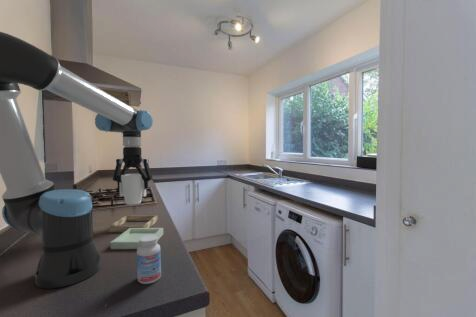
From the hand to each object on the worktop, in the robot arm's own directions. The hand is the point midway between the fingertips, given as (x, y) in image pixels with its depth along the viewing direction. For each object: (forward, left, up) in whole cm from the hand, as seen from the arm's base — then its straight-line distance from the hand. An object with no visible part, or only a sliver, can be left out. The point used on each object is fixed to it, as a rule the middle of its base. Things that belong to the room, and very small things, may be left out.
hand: (133, 196), depth 103 cm
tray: (-17, -10, -14) cm, 24 cm away
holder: (0, 0, -14) cm, 14 cm away
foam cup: (0, 0, -3) cm, 3 cm away
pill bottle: (-42, -24, -14) cm, 50 cm away
